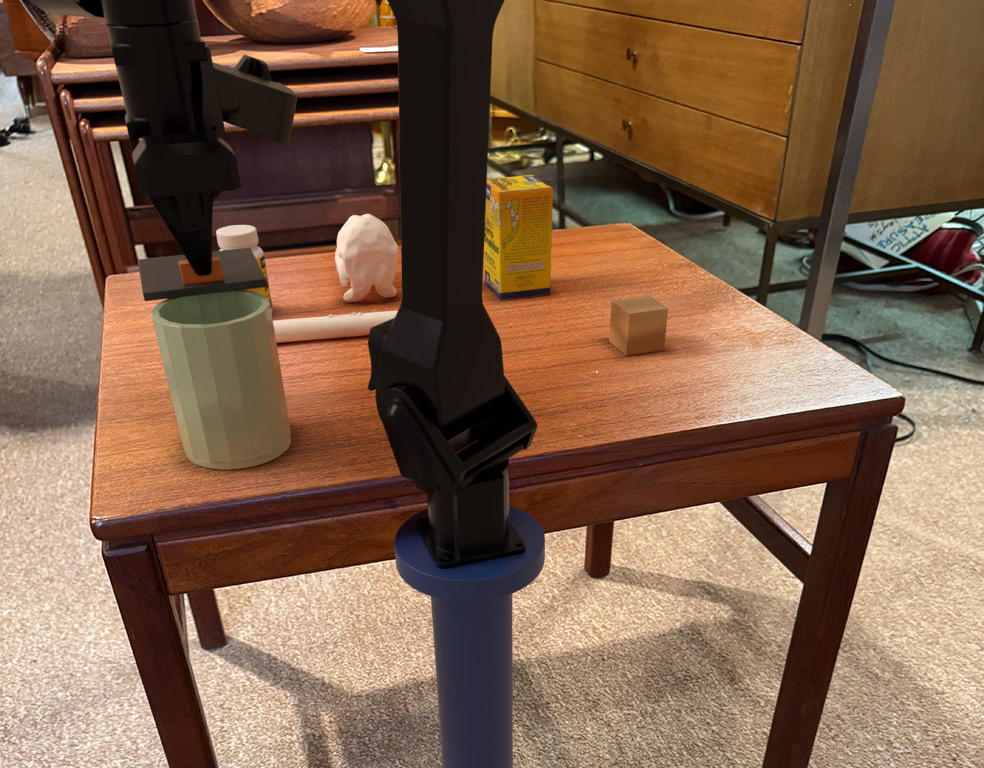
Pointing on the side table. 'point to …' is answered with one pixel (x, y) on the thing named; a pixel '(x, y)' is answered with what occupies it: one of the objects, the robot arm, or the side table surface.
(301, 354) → the side table surface
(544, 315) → the side table surface
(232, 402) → the tumbler
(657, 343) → the block
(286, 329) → the white rod
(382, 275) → the penguin figurine
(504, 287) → the supplement box
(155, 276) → the slider
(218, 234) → the supplement bottle
